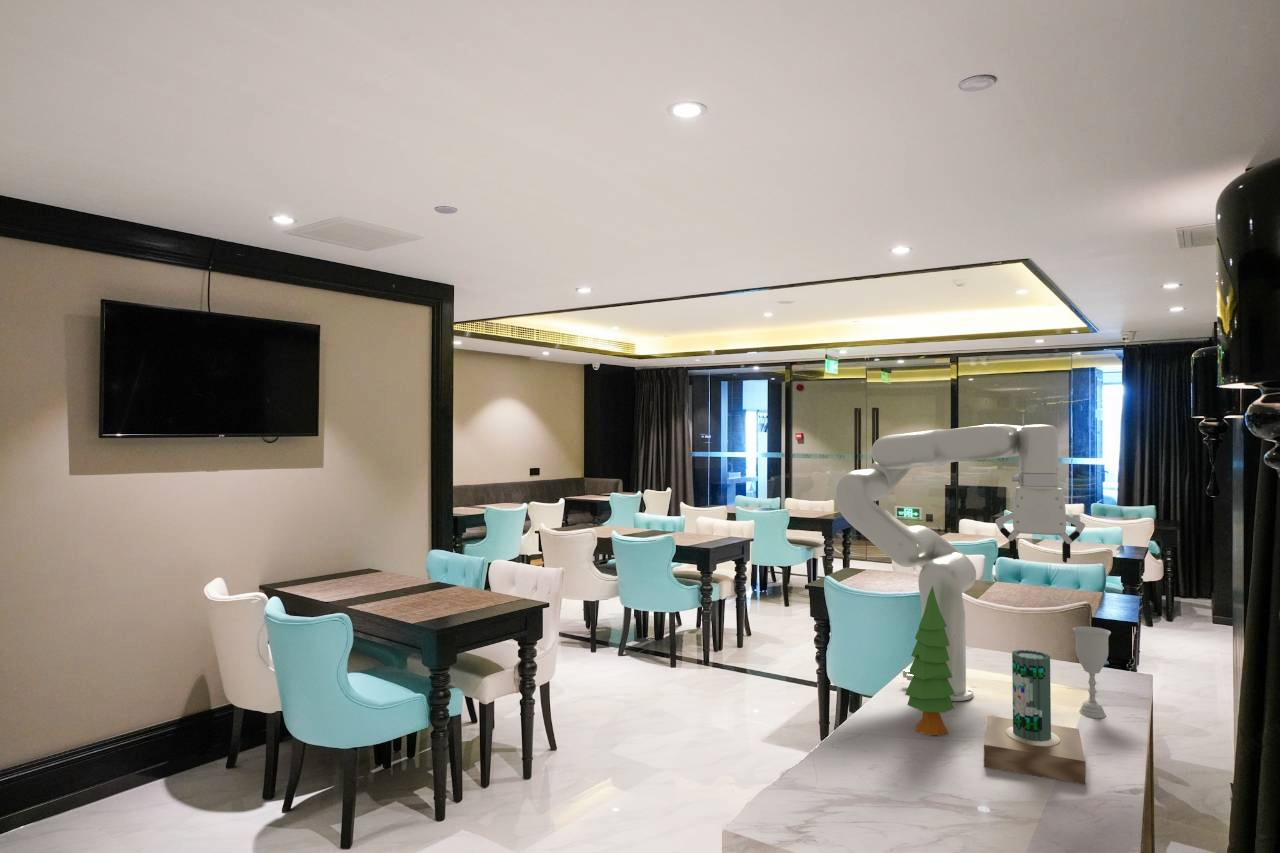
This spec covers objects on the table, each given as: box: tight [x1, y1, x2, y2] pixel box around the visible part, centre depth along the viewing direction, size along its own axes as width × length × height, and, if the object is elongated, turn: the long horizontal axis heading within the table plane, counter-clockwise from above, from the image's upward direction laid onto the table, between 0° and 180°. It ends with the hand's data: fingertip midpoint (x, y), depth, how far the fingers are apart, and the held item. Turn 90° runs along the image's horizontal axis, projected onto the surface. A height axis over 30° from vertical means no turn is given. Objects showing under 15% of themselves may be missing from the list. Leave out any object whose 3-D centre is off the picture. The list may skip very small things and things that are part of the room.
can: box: [1011, 649, 1052, 742], centre depth 142 cm, size 6×6×15 cm
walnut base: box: [983, 714, 1087, 785], centre depth 141 cm, size 16×16×4 cm
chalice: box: [1072, 625, 1112, 719], centre depth 164 cm, size 7×7×18 cm
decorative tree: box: [904, 585, 955, 737], centre depth 155 cm, size 10×9×30 cm
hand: (1039, 560), depth 164 cm, fingers open, 9 cm apart
